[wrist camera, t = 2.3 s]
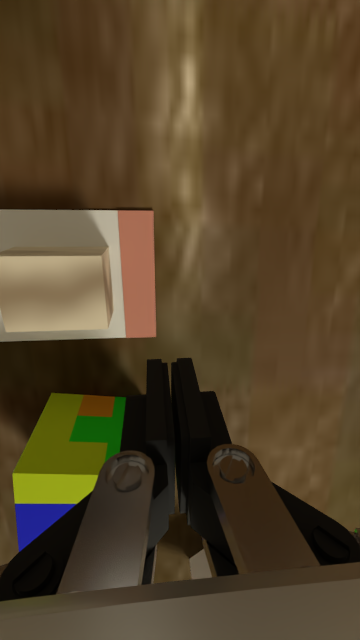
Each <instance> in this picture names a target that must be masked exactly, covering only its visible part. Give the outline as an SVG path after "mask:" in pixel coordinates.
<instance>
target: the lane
mask: <svg viewBox="0 0 360 640" xmlns="http://www.w3.org/2000/svg"><path fill="white" fill-rule="evenodd" d="M97 246H109V255H110V268H111V280H112V292H113V305H114V311H113V314H112V318H111V321H110V324H109V328H108V329H94V330H62V331H29V332H6V330H5V326H4V322H3V318H2V314H1V310H0V342H6V341H36V340H65V339H95V338H124V337H126V327H125V312H124V297H123V282H122V267H121V252H120V237H119V222H118V210H4V209H0V252H1V251H4V250H7V249H10V248H12V247H97Z"/></svg>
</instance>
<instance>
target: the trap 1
mask: <svg viewBox="0 0 360 640" xmlns="http://www.w3.org/2000/svg"><path fill="white" fill-rule="evenodd" d="M118 222H119V237H120V252H121V267H122V282H123V297H124V312H125V327H126V338H137V337H156V309H155V265H154V221H153V211H134V210H118Z"/></svg>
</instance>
